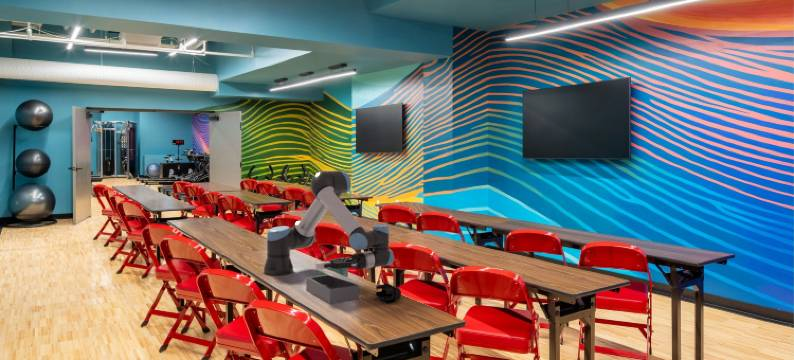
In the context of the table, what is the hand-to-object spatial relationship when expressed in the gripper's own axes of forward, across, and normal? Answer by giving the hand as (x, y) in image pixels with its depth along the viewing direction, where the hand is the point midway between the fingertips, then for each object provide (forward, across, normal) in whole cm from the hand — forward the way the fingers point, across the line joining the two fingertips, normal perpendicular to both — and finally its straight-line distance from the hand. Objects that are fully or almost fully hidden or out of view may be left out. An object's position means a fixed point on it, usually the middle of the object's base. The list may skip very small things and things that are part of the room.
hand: (316, 266), depth 218 cm
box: (-20, +23, -14) cm, 34 cm away
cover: (-8, 0, -5) cm, 10 cm away
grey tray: (-8, 0, -14) cm, 16 cm away
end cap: (-25, -20, -14) cm, 35 cm away
